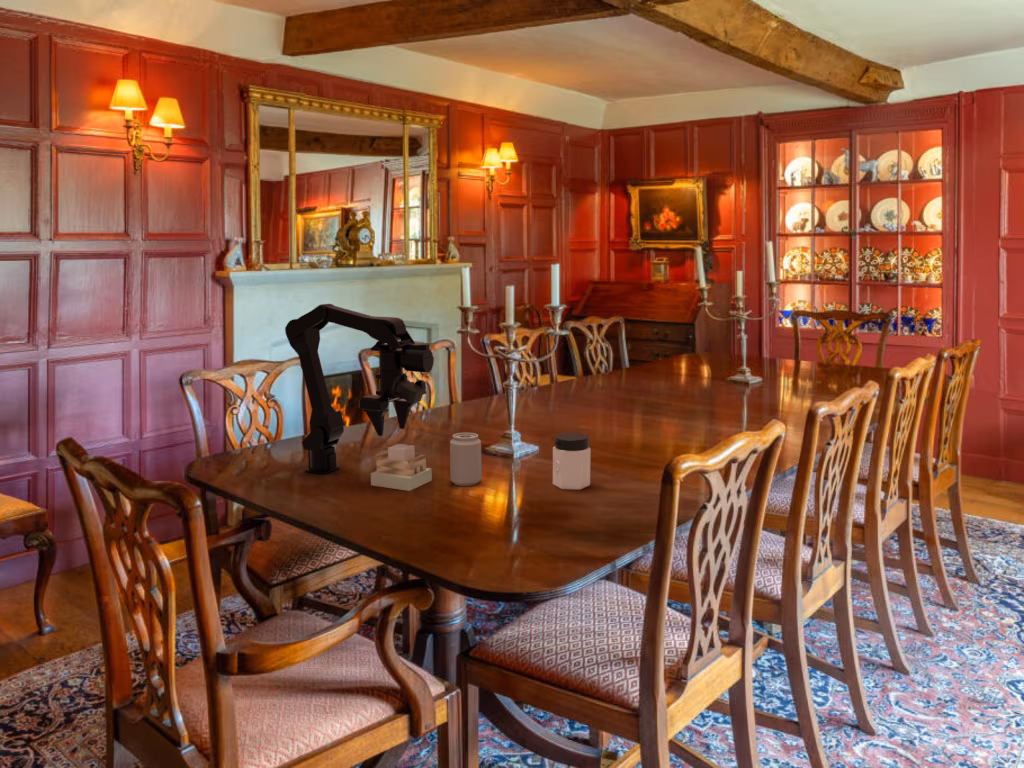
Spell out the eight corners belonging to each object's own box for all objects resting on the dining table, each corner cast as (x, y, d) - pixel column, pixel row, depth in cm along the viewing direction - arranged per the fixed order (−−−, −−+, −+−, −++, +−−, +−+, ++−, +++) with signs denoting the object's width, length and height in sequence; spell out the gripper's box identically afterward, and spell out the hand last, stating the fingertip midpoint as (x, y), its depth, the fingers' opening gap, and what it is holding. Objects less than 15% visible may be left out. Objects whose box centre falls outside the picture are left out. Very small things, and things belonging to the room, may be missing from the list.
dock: (371, 485, 205) (370, 473, 204) (394, 475, 214) (394, 463, 213) (409, 490, 200) (409, 478, 200) (431, 480, 209) (431, 468, 209)
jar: (547, 482, 207) (547, 434, 205) (577, 478, 210) (577, 431, 208) (565, 492, 199) (565, 442, 197) (595, 487, 202) (595, 438, 200)
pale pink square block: (388, 459, 205) (387, 447, 205) (398, 455, 209) (398, 443, 209) (404, 461, 203) (403, 449, 203) (414, 457, 207) (414, 445, 207)
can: (481, 478, 211) (480, 431, 209) (481, 486, 204) (480, 437, 202) (451, 478, 211) (450, 431, 209) (450, 487, 203) (449, 438, 201)
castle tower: (376, 471, 206) (376, 456, 205) (391, 465, 212) (391, 450, 211) (411, 476, 202) (411, 460, 201) (425, 470, 207) (425, 454, 207)
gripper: (396, 377, 195) (396, 444, 198) (439, 367, 212) (439, 428, 214) (357, 373, 200) (358, 438, 203) (402, 364, 217) (402, 424, 219)
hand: (391, 432), depth 210 cm, fingers open, 9 cm apart
